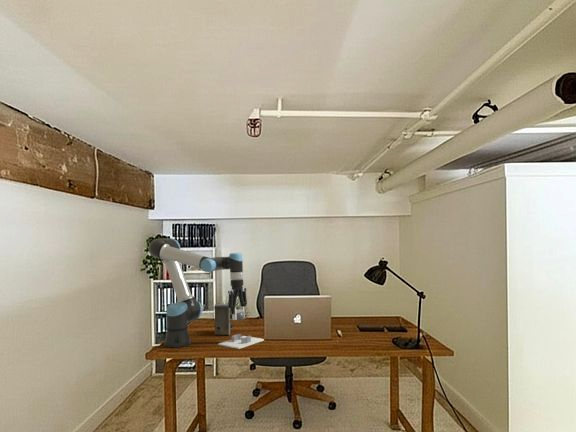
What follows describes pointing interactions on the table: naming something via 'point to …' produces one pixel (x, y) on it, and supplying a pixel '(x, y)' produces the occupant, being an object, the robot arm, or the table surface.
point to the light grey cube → (240, 314)
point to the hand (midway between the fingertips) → (238, 318)
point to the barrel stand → (240, 341)
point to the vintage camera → (222, 319)
